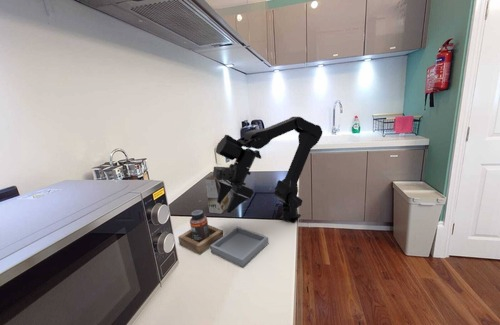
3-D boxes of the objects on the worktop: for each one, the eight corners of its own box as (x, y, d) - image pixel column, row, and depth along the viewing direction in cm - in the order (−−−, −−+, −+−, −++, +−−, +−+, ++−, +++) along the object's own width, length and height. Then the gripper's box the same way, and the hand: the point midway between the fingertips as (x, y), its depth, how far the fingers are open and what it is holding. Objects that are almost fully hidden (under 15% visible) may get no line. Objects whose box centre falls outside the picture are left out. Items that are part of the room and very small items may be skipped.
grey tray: (237, 232, 84) (237, 226, 84) (268, 243, 76) (268, 236, 76) (210, 252, 74) (210, 245, 74) (243, 267, 66) (242, 260, 65)
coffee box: (221, 214, 100) (217, 179, 96) (209, 212, 102) (204, 178, 98) (230, 205, 108) (227, 173, 104) (218, 204, 110) (215, 172, 106)
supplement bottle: (211, 235, 84) (207, 207, 81) (209, 245, 78) (204, 215, 75) (195, 237, 84) (190, 209, 81) (191, 246, 78) (186, 217, 75)
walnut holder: (203, 229, 88) (202, 222, 88) (223, 237, 82) (222, 230, 81) (179, 244, 80) (178, 236, 79) (200, 254, 73) (198, 246, 73)
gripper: (213, 151, 81) (194, 191, 81) (234, 161, 65) (211, 211, 65) (238, 163, 87) (220, 200, 86) (263, 174, 71) (242, 220, 70)
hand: (223, 207), depth 77 cm, fingers open, 9 cm apart
